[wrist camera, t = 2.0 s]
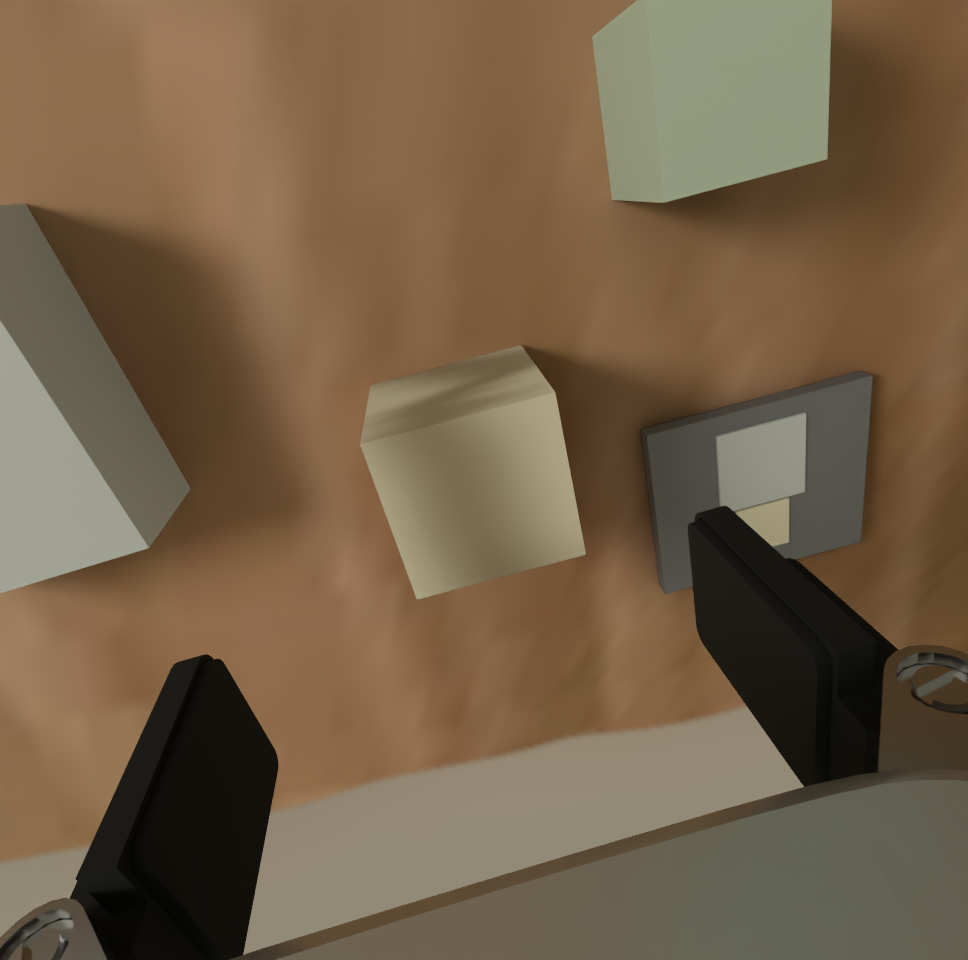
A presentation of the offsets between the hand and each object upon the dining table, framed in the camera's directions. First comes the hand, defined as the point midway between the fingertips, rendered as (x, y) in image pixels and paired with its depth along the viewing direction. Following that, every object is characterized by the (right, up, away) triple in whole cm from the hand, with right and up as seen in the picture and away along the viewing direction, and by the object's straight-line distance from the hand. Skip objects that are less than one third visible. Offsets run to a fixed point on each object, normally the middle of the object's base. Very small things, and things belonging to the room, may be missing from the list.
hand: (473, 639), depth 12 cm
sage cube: (+5, +14, +5) cm, 16 cm away
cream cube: (0, +5, +9) cm, 10 cm away
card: (+10, +3, +11) cm, 15 cm away
